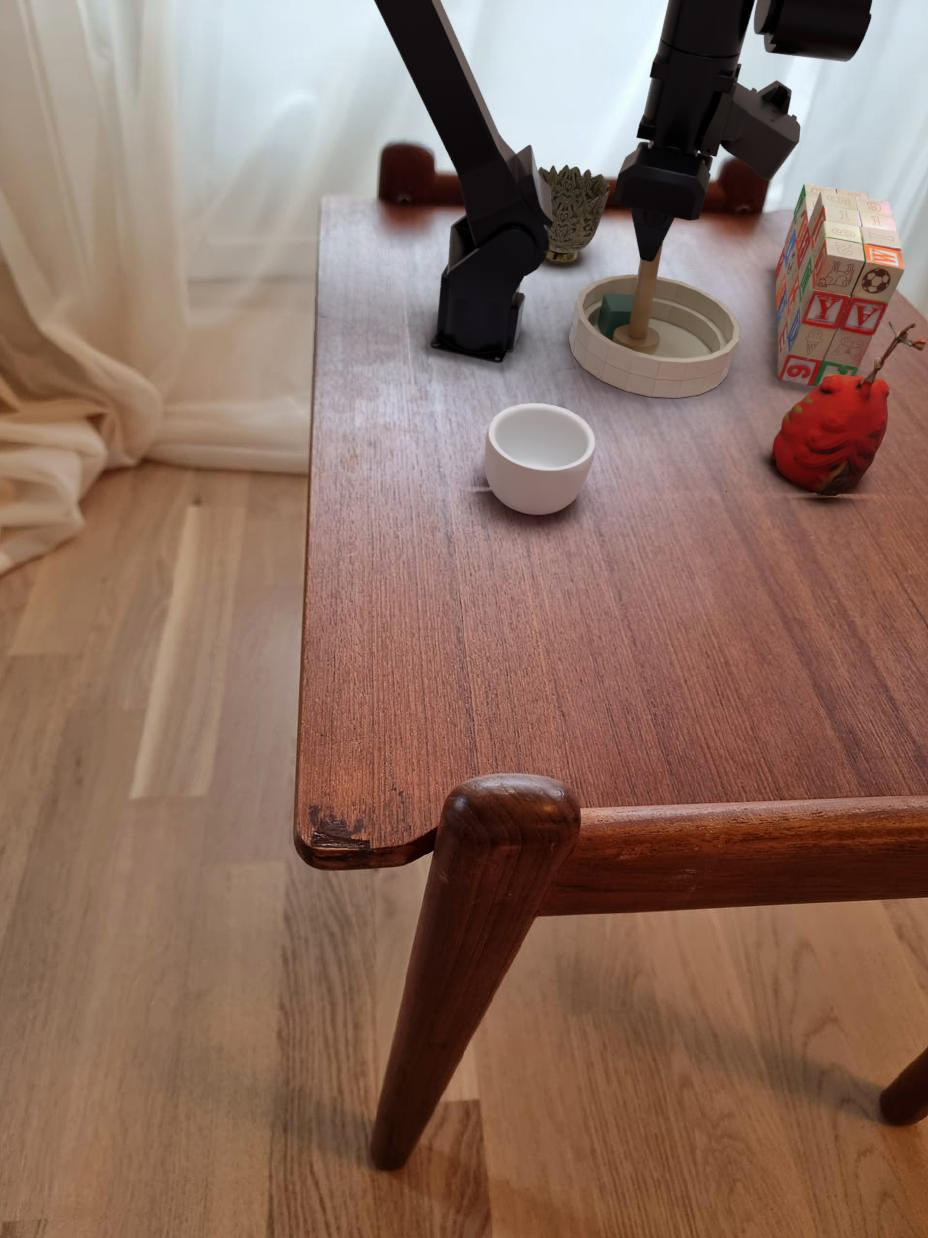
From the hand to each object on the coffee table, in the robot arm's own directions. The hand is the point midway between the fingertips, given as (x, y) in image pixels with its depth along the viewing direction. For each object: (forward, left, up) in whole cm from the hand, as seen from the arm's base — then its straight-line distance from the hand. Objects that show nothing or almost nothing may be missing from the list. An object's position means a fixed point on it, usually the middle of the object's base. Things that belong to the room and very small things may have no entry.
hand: (648, 254), depth 80 cm
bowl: (+2, +1, -10) cm, 10 cm away
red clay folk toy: (+17, -11, -10) cm, 23 cm away
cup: (-9, +15, -10) cm, 20 cm away
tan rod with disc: (+1, 0, -8) cm, 8 cm away
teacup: (-4, -21, -10) cm, 23 cm away
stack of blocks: (+16, +12, -10) cm, 22 cm away
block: (-1, +3, -9) cm, 9 cm away
